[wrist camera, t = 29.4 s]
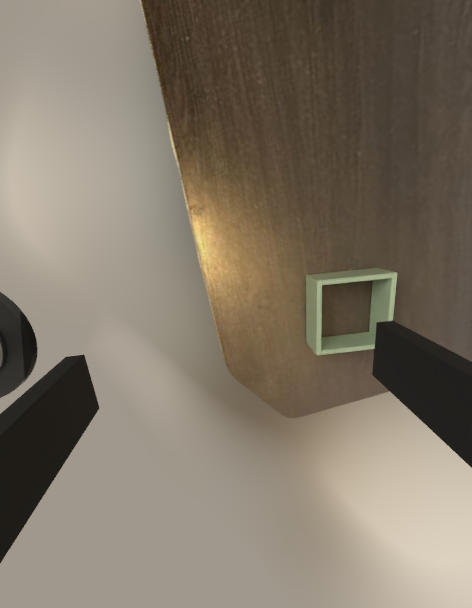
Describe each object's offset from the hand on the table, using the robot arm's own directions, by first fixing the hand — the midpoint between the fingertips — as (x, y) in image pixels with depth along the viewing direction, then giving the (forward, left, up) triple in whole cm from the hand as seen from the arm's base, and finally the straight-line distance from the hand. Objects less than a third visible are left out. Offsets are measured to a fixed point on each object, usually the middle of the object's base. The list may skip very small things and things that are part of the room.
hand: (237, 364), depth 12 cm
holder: (+22, -4, -32) cm, 39 cm away
